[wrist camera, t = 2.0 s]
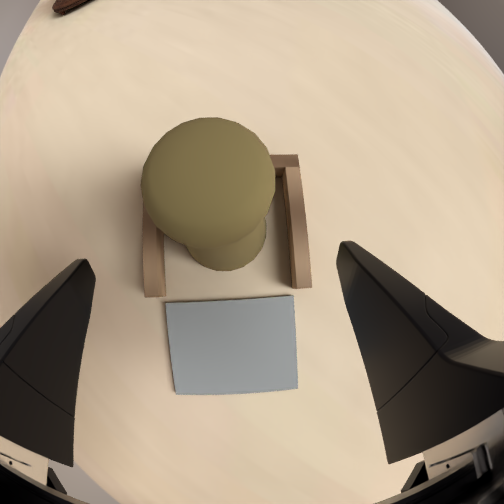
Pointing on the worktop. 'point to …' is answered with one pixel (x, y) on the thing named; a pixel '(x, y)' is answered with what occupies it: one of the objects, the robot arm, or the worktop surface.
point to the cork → (211, 190)
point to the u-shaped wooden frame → (295, 225)
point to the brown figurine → (65, 5)
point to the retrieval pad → (233, 346)
